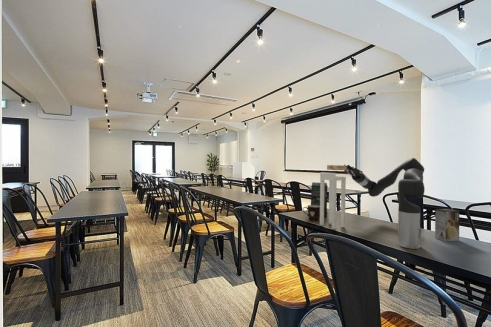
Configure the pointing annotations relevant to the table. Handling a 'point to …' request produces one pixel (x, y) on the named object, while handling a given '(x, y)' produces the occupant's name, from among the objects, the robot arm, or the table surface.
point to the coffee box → (447, 224)
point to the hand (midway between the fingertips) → (345, 166)
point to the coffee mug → (313, 212)
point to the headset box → (318, 196)
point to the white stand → (332, 198)
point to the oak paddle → (337, 167)
